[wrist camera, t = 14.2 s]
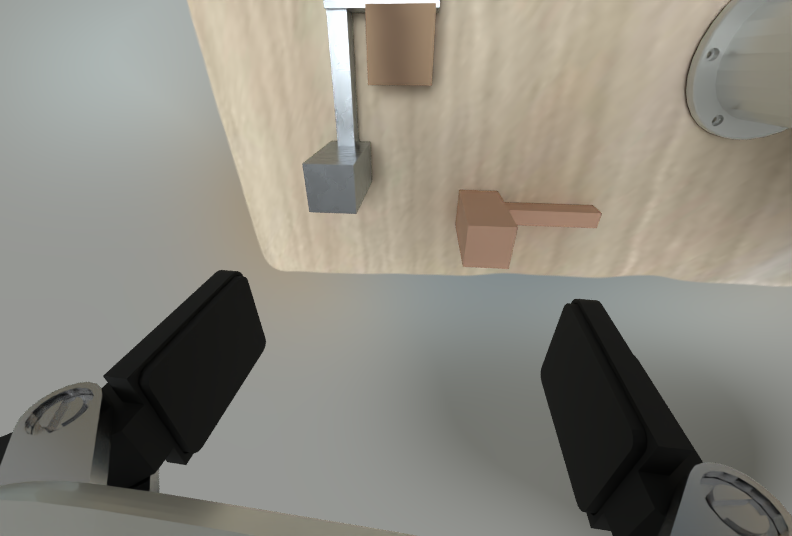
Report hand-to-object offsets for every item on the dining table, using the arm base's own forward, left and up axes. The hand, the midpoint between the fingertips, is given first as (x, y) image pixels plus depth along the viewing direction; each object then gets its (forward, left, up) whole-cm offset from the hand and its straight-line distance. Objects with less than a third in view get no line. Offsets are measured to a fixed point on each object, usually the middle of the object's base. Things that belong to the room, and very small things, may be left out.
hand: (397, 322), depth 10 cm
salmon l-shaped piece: (-12, +7, -26) cm, 30 cm away
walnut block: (+2, -8, -27) cm, 28 cm away
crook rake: (+4, -4, -26) cm, 27 cm away
